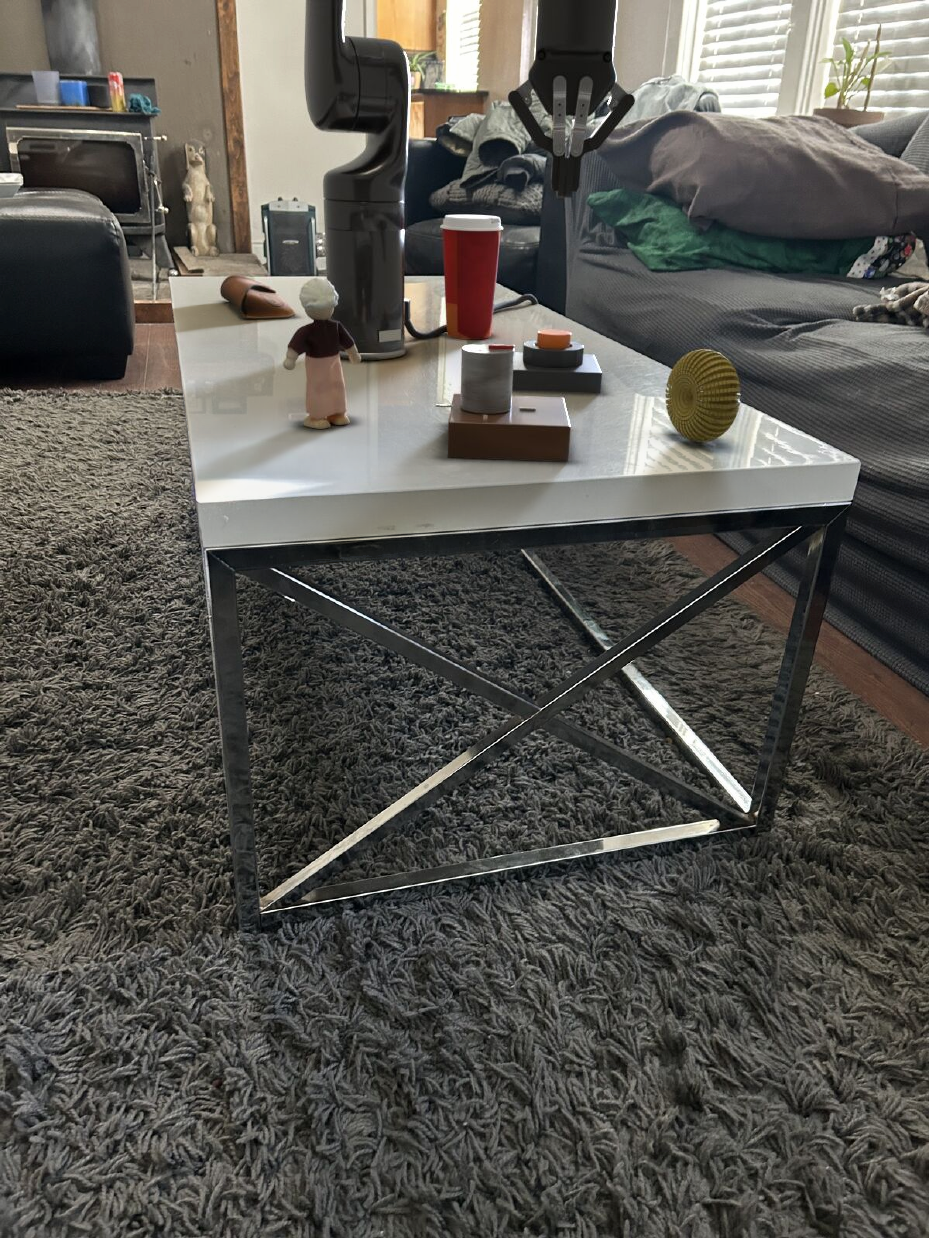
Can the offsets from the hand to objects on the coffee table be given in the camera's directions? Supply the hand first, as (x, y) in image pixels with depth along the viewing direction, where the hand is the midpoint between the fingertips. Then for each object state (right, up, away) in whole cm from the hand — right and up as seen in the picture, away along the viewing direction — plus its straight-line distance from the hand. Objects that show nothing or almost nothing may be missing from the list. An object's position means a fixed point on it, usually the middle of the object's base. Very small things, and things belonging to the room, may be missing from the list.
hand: (563, 197), depth 98 cm
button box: (-1, -17, +8) cm, 19 cm away
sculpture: (+11, -27, -12) cm, 32 cm away
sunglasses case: (-42, +4, +48) cm, 63 cm away
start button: (0, -14, +7) cm, 15 cm away
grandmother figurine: (-23, -26, -10) cm, 36 cm away
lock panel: (-6, -28, -14) cm, 32 cm away
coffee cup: (-10, -5, +33) cm, 34 cm away
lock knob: (-8, -25, -15) cm, 30 cm away
